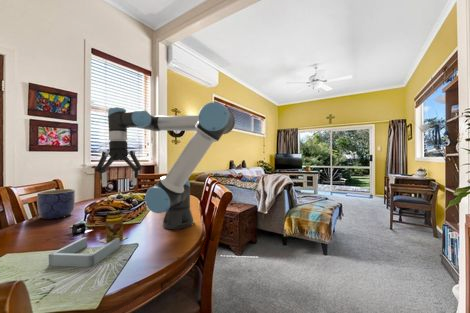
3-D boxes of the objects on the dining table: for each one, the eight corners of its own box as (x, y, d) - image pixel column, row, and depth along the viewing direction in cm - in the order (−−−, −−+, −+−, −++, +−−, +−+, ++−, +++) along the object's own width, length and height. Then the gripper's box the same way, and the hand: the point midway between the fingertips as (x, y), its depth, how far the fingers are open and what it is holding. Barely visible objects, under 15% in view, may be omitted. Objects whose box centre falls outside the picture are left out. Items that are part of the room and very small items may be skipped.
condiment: (112, 244, 81) (112, 214, 81) (98, 241, 85) (98, 212, 85) (128, 237, 88) (128, 209, 88) (114, 235, 91) (114, 208, 91)
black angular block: (68, 240, 87) (68, 229, 87) (58, 237, 90) (58, 227, 90) (97, 230, 99) (97, 220, 99) (87, 228, 102) (87, 219, 102)
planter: (37, 216, 120) (37, 191, 120) (73, 211, 132) (73, 188, 132) (37, 223, 108) (36, 194, 108) (76, 216, 119) (76, 191, 119)
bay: (119, 247, 79) (119, 238, 79) (91, 266, 65) (91, 255, 65) (84, 246, 80) (84, 237, 80) (48, 265, 66) (48, 254, 66)
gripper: (148, 140, 102) (149, 183, 102) (95, 142, 100) (96, 186, 99) (142, 139, 94) (144, 185, 94) (85, 141, 92) (86, 188, 92)
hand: (119, 185), depth 97 cm, fingers open, 13 cm apart
